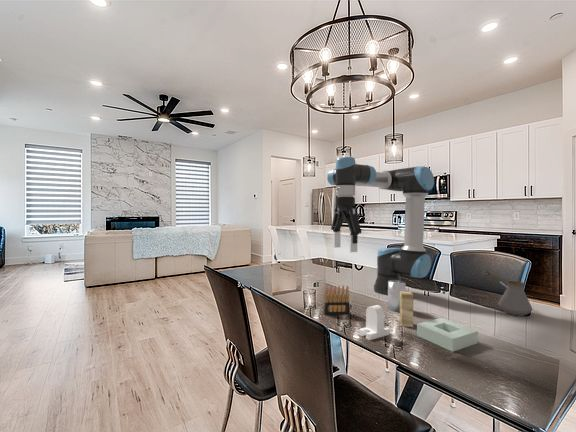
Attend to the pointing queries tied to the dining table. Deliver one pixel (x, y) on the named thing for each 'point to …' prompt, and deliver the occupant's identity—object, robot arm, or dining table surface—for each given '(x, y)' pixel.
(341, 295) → the ammunition clip
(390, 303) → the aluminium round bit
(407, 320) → the oak square bit
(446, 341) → the socket block
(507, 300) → the coffee pot
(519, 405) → the dining table surface
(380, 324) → the cable organizer
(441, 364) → the dining table surface
